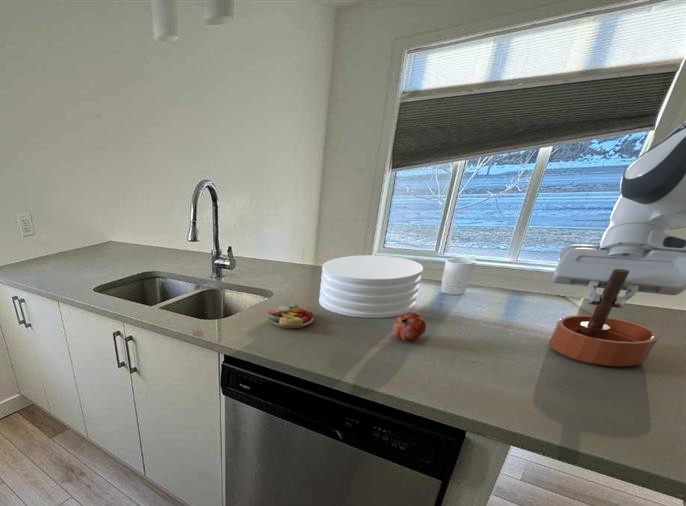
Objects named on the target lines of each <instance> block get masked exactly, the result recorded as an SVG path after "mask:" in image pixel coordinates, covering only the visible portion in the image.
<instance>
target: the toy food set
mask: <svg viewBox="0 0 686 506" xmlns="http://www.w3.org/2000/svg"><path fill="white" fill-rule="evenodd" d="M267 314H269V316H268V320H269V321H270V322H271V323H272V325H274V326H276V327H279V328H283V329H301V328H304V327H305V328H306V327H308V326H309V325H311V324H312V323H313V322H314V320H315V318H314V317H315V316H314V313H313V312H312V311H311V310H308V309H305V308H303V307H299V305H298V304H296V303H287V304H286V305H285V306H279V307H276V311H275V310H268V311H267Z"/></svg>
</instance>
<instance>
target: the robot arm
mask: <svg viewBox="0 0 686 506" xmlns="http://www.w3.org/2000/svg"><path fill="white" fill-rule="evenodd" d="M619 187H620V188H619V189H620V190H619V192H620V195H619V198H618V199H617V201H616V203H615V205H614V207H613V210H612V212H611V215H610V218H609V225H608V228H607V229H606V230H605V231H604V233H603V235H602V238H601V239H600V243H599V244H598V245H596V244H576V243H575V244H571V245H567V246H565V247H563V248H561V250H560V251H559V254H558V257H557V259H558V261H559V262H558V263H557V265H556V267H555V269H554V272H553V274H552V276H551V280H552V282H553V283H554V284H558V285H567V286H569V285H570V286H578V287H586V289H585V291H586V293H587V295H588V297H589V300H588V302H587V304H588V305H593V306H597V305H598V303H599V301H600V298H601V295H602V294H600V293H599V294H598V293H597V291H596V289H597V288H598V289H604V288H605V286H606V284H607V282H608V280H609V278H610V275H611V273H612V271H613V270H614V269H624V270H628V271H630V272H629V274H628V276H627V278H626V280H625V282H624V284H623V286H622V288H621V290H620V291H625V293H624V294H625V295H623V296H618V297H617V299H616V301H615V303H614V305H613V307H612V308H617V309H623V308H624V306H625V304H626V302H627V301H628V300H630V299H631V298H633V297H634V296H635V295H636V294H637V293H647V294H657V295H666V296H677V295H679V294H682V293H683V292H684V291H686V238H684V237H680V236H675V235H672V234H668V233H665V232H666V231H668V230H678V229H682V228H686V120H685V121H684V122H683V123H682V124H680V125H679V126H678V127H677V128H676V129H674V130H673V131H672V132H671V133H670V134H669V135H667V136H666V137H664V139H662V140H661V141H659V142H658V143H656V144H655V145H654V146H652V147H651V148H649V149H648V150H646V151H645V152H643V153H642V154H641V155H640V156H638V157H637V158H636V159H634V160H633V161H632V162H631V163H630V164H628V166H627V167H626V169H625V170H624V171H623V174H622V176H621V179H620V186H619Z"/></svg>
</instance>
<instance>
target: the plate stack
mask: <svg viewBox="0 0 686 506" xmlns="http://www.w3.org/2000/svg"><path fill="white" fill-rule="evenodd" d="M423 271H424V267H423V265H422V264H421V263H419V262H418V261H417V262H416V261H414V260H411V259H409V258H404V257H398V256H389V255H376V254H375V255H372V254H369V255H367V254H365V255H364V254H363V255H349V256H343V257H336V258H332V259H330V260H327V261H326V262H324V263H323V264H322V266H321V275H320V276H321V281H320V289H319V298H318V303H319V305H320V306H321V307H322V308H323V309H325V310H327V311H329V312H332V313H333V314H337V315H343V316H347V317H352V318H363V319H384V318H392V317H399V316H402V315H404V314H406V313H409V312H412V311H413V310H414V309H415V306H416V300H417V297H418V292H419V289H420V284H421V280H422V274H423Z"/></svg>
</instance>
